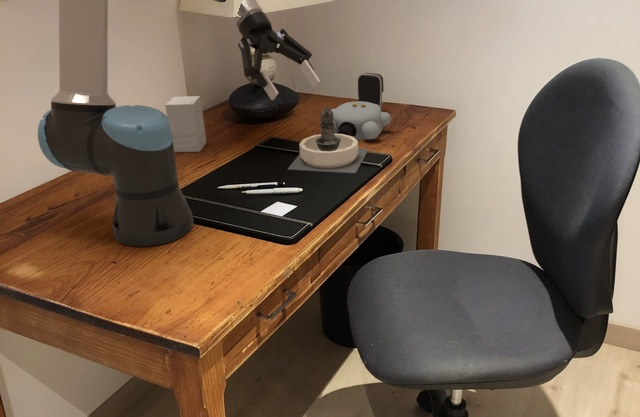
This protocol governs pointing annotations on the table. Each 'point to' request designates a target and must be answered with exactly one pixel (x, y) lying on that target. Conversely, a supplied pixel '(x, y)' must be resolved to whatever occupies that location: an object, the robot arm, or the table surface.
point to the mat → (350, 168)
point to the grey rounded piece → (360, 120)
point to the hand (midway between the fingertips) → (296, 90)
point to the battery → (370, 88)
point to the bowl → (329, 152)
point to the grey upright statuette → (327, 132)
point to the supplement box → (186, 123)
